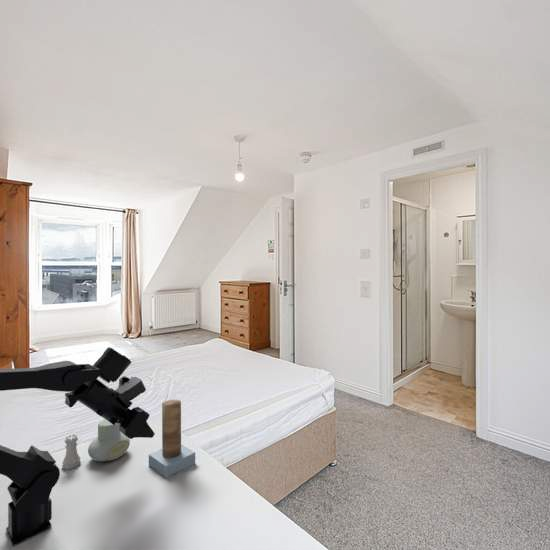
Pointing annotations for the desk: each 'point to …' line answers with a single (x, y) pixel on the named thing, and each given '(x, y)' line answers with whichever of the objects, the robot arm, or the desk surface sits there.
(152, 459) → the pale blue square tile
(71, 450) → the rook chess piece
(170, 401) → the walnut pillar
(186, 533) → the desk surface
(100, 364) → the robot arm
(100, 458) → the air freshener
